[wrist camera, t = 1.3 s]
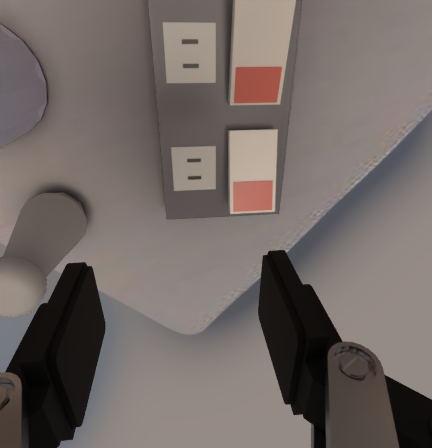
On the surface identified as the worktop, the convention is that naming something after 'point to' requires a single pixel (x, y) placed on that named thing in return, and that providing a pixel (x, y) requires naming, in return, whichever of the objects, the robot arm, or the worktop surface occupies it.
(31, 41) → the worktop surface
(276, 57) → the rocker middle
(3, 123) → the soap bottle
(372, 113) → the worktop surface
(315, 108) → the worktop surface
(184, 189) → the rocker switch panel
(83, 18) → the worktop surface
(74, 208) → the salt shaker
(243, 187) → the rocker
